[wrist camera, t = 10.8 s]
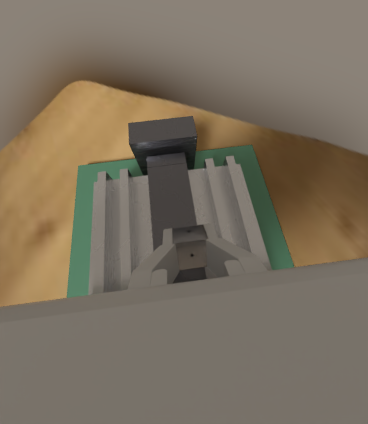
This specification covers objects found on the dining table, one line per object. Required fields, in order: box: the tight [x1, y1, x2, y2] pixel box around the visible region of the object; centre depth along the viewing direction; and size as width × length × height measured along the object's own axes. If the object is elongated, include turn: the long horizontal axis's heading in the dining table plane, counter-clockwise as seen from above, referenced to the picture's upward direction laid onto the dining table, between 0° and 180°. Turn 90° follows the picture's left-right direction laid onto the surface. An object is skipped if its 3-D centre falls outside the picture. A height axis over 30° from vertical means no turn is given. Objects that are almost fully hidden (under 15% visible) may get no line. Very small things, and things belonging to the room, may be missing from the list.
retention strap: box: [147, 152, 207, 284], centre depth 11 cm, size 17×3×2 cm, turn 8°
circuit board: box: [67, 145, 294, 298], centre depth 15 cm, size 26×20×1 cm
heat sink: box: [88, 116, 272, 295], centre depth 12 cm, size 20×12×7 cm, turn 8°
